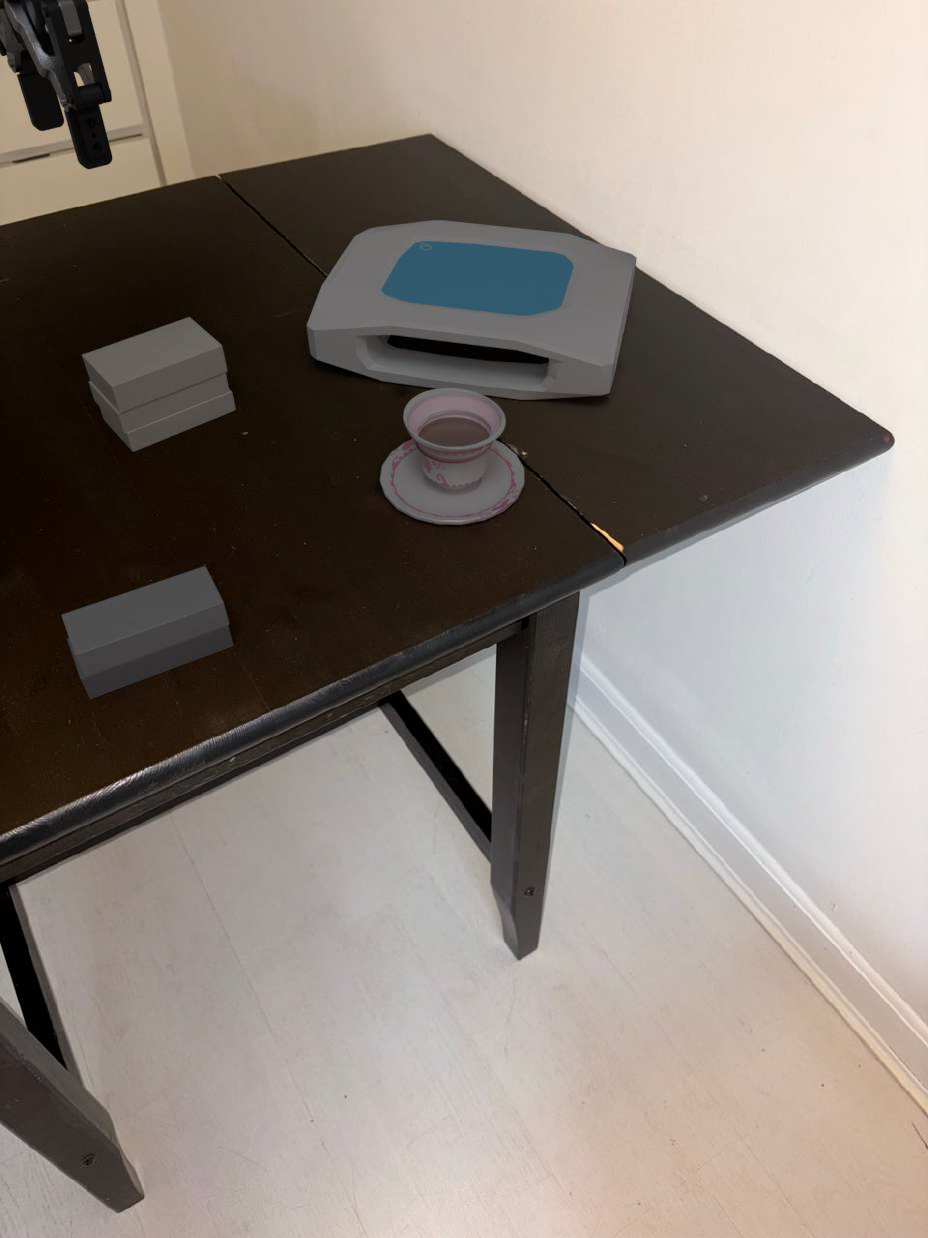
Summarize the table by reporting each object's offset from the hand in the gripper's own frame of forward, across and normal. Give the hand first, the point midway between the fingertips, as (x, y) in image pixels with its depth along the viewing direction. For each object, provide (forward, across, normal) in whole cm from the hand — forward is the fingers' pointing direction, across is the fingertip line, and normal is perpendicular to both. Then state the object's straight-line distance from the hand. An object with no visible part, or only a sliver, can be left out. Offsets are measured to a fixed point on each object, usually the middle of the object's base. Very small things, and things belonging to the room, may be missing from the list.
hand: (72, 145), depth 68 cm
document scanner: (+23, +7, +32) cm, 40 cm away
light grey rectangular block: (+19, +1, +2) cm, 19 cm away
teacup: (+23, +24, +16) cm, 37 cm away
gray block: (+23, +26, -12) cm, 37 cm away
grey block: (+23, +1, +2) cm, 23 cm away
